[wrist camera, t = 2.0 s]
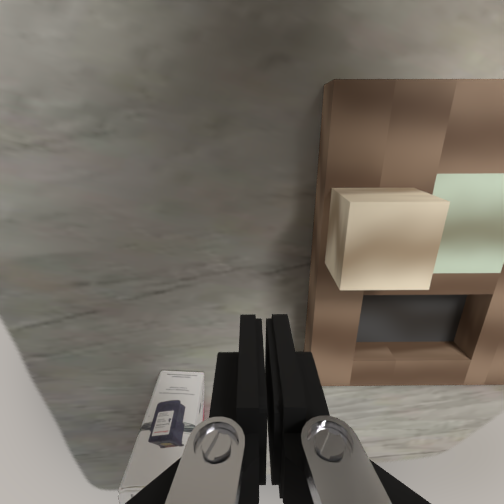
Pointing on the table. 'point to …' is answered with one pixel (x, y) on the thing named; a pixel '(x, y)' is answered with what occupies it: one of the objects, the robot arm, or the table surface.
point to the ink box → (164, 429)
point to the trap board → (452, 242)
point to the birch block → (384, 238)
